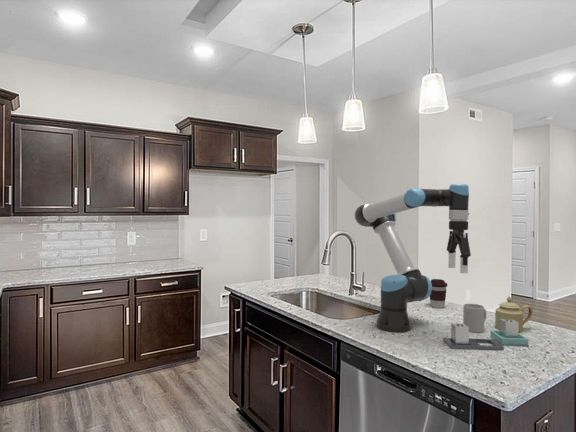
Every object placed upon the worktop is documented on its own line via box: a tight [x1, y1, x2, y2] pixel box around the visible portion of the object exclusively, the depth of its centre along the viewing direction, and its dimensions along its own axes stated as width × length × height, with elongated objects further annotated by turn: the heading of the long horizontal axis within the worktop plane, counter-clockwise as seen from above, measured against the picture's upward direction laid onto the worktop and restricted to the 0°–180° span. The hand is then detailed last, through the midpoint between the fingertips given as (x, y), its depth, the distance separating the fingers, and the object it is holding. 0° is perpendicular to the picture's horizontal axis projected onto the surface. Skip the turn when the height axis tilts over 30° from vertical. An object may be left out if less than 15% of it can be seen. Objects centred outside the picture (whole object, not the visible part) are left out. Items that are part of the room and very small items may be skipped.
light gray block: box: [450, 322, 470, 345], centre depth 154 cm, size 5×5×8 cm
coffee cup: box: [429, 278, 448, 309], centre depth 213 cm, size 10×10×15 cm
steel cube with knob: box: [499, 319, 519, 338], centre depth 158 cm, size 5×5×8 cm
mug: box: [462, 303, 487, 334], centre depth 174 cm, size 12×8×11 cm
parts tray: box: [489, 329, 529, 347], centre depth 159 cm, size 10×10×3 cm
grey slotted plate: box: [442, 337, 505, 351], centre depth 154 cm, size 20×9×1 cm, turn 86°
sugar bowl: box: [494, 295, 533, 333], centre depth 176 cm, size 15×11×15 cm
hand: (457, 270), depth 162 cm, fingers open, 13 cm apart
